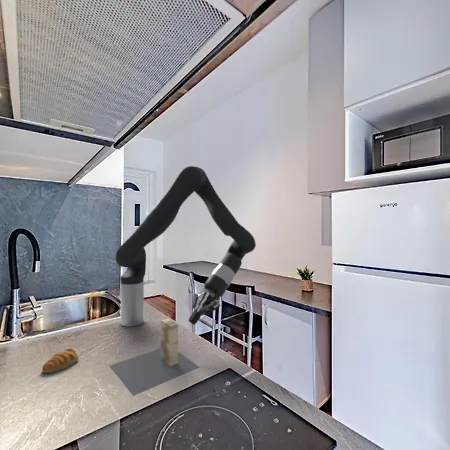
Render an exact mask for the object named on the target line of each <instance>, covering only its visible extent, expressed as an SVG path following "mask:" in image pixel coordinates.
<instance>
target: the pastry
mask: <svg viewBox="0 0 450 450" xmlns="http://www.w3.org/2000/svg"><path fill="white" fill-rule="evenodd" d="M79 359H80V358H79V355H78V353H77V352H76V350H75V349H74V348H71V347H70V348H65V349H64V350H62V351H60V352H58V353H55V354H54V355H52V357H51V358H50V359H48V360H47V361H46V362H45V363H44V364H43V365H42V370H41V371H42V373H47V374H54V373H56V372H58V371H62V370H64V369H66V368H68V367H70V366H72V365H74V364H75V363H77V362H78V360H79Z"/></svg>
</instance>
